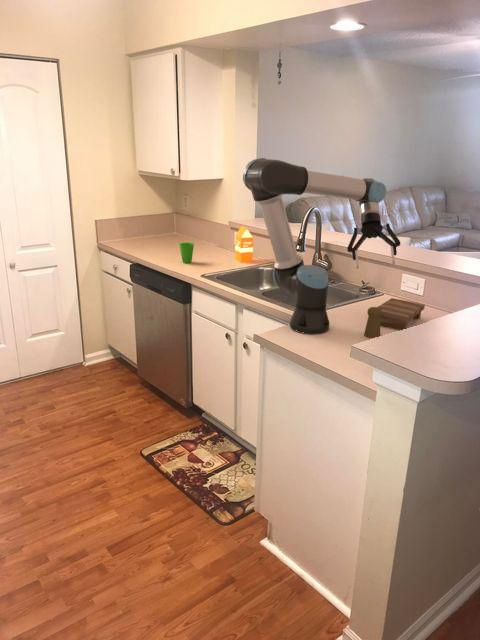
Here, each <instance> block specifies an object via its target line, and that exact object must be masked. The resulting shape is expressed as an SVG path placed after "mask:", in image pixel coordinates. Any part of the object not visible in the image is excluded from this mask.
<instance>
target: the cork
mask: <svg viewBox="0 0 480 640" xmlns="http://www.w3.org/2000/svg"><path fill="white" fill-rule="evenodd" d="M381 315H382V310H381V309H380V308H378V306H371V307H368V309H367V317H368V318H367V321H366V325H365V328H364V334H363V336H364V338H365V337H366V338H368V339H371V338H375V337H379V336H381V337H382V335H381V334H382V333H381V326H380V317H381Z"/></svg>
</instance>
